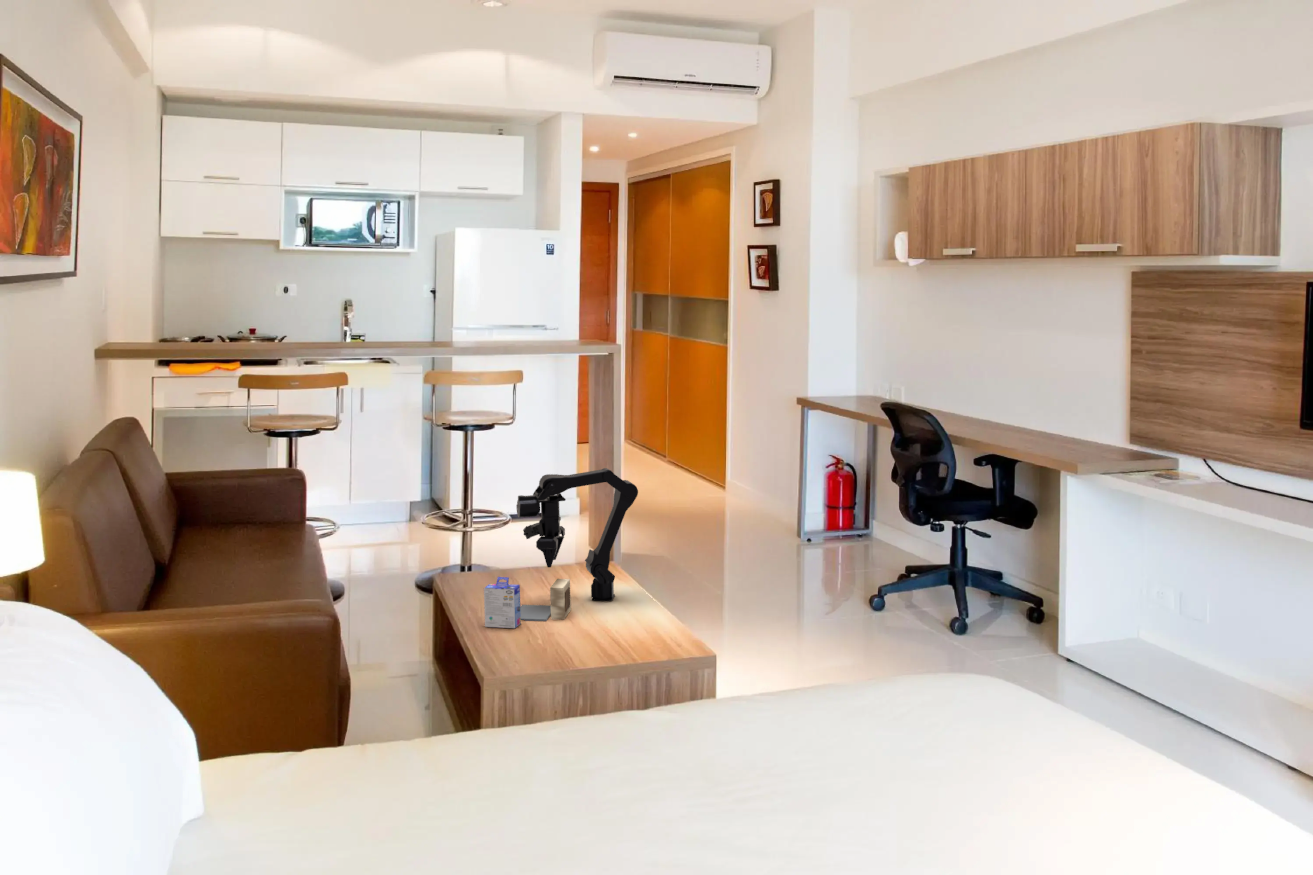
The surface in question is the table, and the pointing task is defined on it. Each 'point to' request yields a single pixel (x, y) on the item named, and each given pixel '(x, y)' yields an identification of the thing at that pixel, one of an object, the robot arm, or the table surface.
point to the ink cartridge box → (502, 604)
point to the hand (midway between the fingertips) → (551, 563)
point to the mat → (535, 612)
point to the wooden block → (560, 599)
